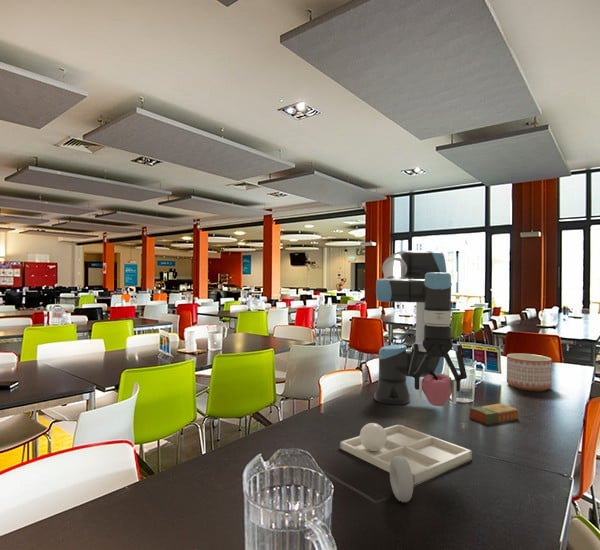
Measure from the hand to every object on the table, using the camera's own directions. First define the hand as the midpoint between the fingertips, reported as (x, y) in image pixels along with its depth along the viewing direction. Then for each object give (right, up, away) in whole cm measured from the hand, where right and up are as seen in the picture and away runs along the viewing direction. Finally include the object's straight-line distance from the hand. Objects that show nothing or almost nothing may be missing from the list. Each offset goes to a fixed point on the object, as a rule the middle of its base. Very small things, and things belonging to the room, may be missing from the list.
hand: (436, 401), depth 123 cm
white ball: (-18, -15, +2) cm, 24 cm away
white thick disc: (-16, -16, -24) cm, 33 cm away
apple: (0, -1, 0) cm, 1 cm away
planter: (+72, -18, +82) cm, 110 cm away
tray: (-9, -16, +1) cm, 19 cm away
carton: (+33, -17, +35) cm, 51 cm away
